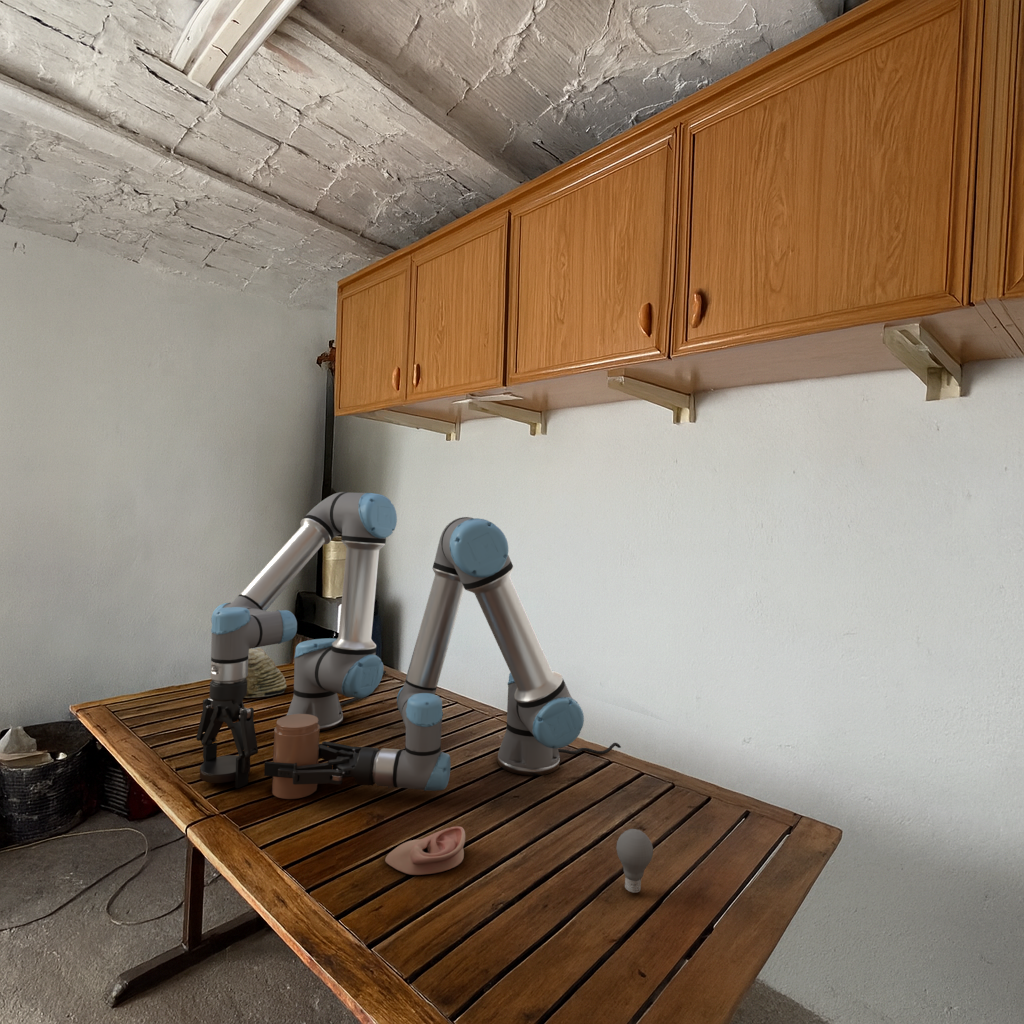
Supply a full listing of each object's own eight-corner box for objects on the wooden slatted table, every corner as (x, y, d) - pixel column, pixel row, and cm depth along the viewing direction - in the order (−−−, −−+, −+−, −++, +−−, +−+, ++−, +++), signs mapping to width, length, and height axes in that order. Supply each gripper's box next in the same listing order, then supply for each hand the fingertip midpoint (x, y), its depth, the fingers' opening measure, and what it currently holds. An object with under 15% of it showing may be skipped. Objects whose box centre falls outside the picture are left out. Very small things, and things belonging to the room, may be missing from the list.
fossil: (218, 695, 195) (220, 647, 195) (278, 685, 208) (279, 640, 207) (228, 703, 189) (230, 653, 188) (289, 692, 201) (290, 645, 201)
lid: (257, 764, 144) (257, 756, 144) (238, 784, 134) (239, 775, 134) (212, 762, 144) (212, 754, 144) (190, 782, 134) (191, 773, 134)
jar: (283, 803, 130) (286, 731, 130) (264, 787, 137) (267, 719, 137) (325, 790, 137) (328, 721, 136) (305, 775, 143) (307, 710, 143)
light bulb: (610, 879, 108) (613, 822, 108) (644, 879, 109) (647, 822, 109) (619, 902, 102) (622, 840, 102) (655, 901, 103) (658, 840, 103)
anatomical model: (378, 846, 108) (403, 814, 120) (377, 869, 108) (402, 835, 120) (453, 858, 106) (471, 824, 117) (452, 882, 106) (470, 846, 117)
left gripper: (180, 674, 141) (177, 773, 141) (249, 692, 130) (245, 800, 130) (210, 667, 147) (207, 761, 148) (278, 684, 137) (274, 786, 137)
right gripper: (360, 809, 124) (250, 799, 126) (390, 763, 146) (296, 755, 148) (361, 771, 124) (251, 762, 126) (392, 730, 146) (297, 723, 148)
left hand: (225, 779), depth 139 cm, fingers closed on lid, 10 cm apart
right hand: (276, 758), depth 137 cm, fingers closed on jar, 9 cm apart
